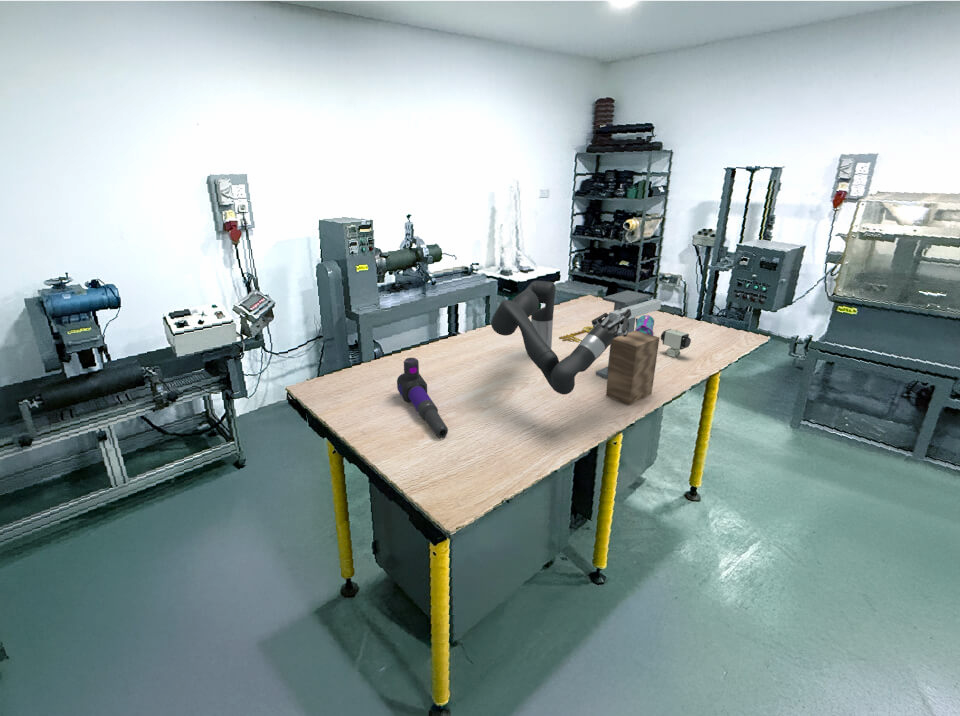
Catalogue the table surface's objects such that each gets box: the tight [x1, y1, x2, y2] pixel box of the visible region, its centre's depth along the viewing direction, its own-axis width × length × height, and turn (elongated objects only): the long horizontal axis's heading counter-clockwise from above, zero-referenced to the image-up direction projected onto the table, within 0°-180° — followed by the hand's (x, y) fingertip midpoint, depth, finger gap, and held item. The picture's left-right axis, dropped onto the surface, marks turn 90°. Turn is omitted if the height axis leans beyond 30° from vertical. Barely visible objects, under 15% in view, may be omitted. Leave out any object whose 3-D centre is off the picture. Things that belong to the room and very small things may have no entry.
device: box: [396, 357, 449, 438], centre depth 165 cm, size 9×36×15 cm, turn 25°
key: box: [558, 325, 594, 344], centre depth 241 cm, size 11×25×2 cm, turn 134°
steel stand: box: [595, 290, 651, 380], centre depth 192 cm, size 16×10×32 cm, turn 130°
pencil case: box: [634, 314, 655, 336], centre depth 236 cm, size 21×9×10 cm, turn 161°
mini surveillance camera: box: [660, 328, 692, 359], centre depth 214 cm, size 6×12×12 cm, turn 38°
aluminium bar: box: [608, 298, 662, 322], centre depth 167 cm, size 26×3×3 cm, turn 130°
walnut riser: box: [605, 330, 661, 406], centre depth 177 cm, size 14×10×22 cm
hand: (625, 309), depth 163 cm, fingers closed on aluminium bar, 3 cm apart
